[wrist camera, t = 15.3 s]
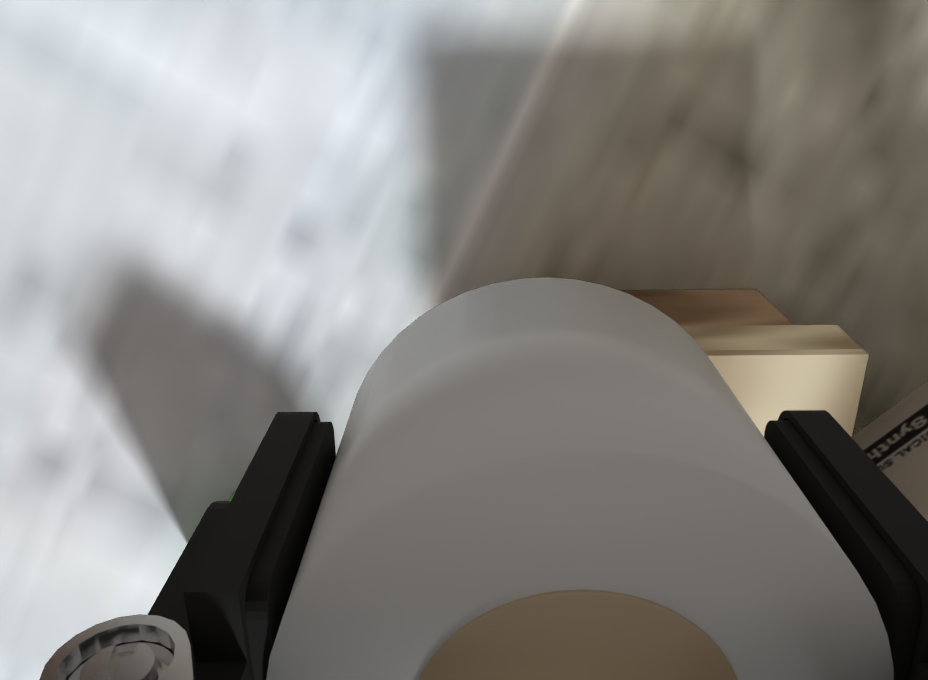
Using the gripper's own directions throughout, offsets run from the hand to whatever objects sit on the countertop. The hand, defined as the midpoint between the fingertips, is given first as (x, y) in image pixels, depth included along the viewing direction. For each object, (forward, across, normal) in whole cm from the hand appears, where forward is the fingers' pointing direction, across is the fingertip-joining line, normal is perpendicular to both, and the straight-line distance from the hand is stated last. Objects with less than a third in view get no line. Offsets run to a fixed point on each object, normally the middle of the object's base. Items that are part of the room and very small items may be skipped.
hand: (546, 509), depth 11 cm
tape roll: (+1, 0, 0) cm, 1 cm away
